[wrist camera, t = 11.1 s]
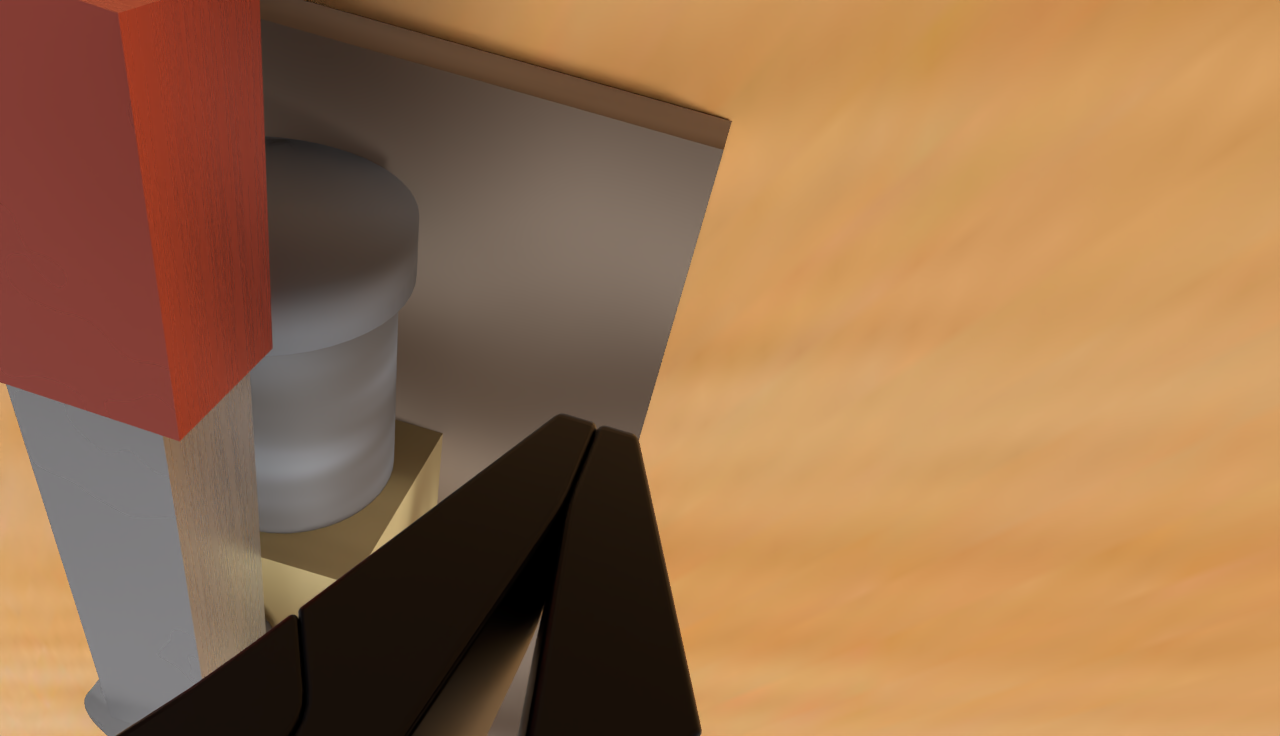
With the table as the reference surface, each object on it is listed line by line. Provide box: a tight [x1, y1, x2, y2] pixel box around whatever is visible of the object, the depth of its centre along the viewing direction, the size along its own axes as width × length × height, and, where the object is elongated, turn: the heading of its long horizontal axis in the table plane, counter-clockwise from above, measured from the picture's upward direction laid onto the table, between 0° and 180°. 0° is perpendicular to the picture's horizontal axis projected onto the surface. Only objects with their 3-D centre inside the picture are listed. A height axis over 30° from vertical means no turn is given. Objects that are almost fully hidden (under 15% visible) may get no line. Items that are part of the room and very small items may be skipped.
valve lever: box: [0, 0, 273, 736], centre depth 12 cm, size 15×3×2 cm, turn 165°
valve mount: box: [250, 0, 732, 736], centre depth 19 cm, size 24×14×6 cm, turn 168°
